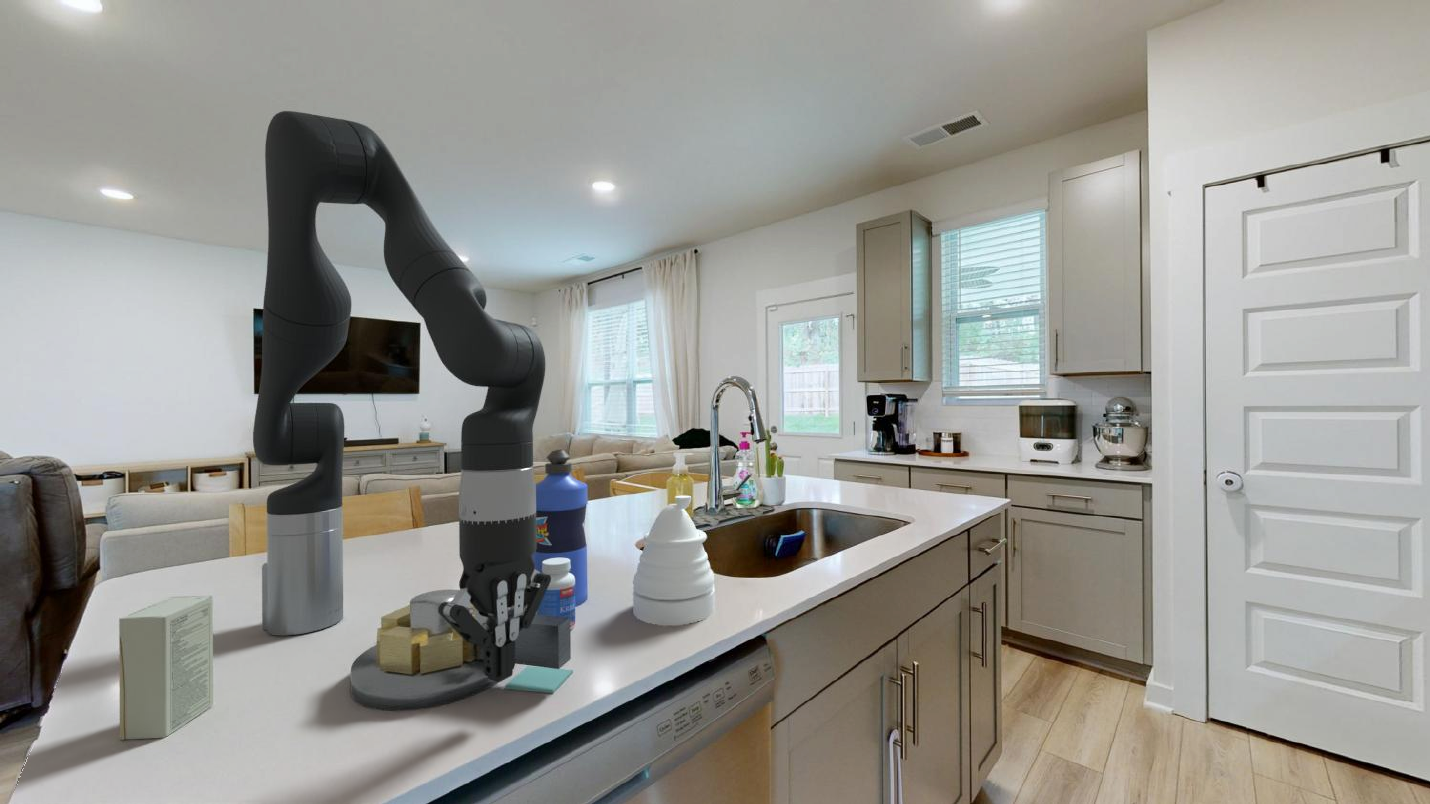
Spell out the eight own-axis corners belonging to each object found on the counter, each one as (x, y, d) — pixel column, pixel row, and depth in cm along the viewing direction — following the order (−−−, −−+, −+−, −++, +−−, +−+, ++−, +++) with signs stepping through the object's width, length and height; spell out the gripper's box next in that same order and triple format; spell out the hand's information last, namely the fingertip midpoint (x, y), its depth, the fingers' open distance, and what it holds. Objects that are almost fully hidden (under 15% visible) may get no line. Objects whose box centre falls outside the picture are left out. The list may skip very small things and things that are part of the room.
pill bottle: (565, 637, 79) (564, 567, 79) (529, 634, 80) (529, 565, 80) (581, 622, 84) (581, 556, 85) (548, 619, 86) (548, 555, 86)
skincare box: (172, 708, 61) (171, 596, 61) (216, 706, 62) (215, 594, 62) (116, 742, 55) (115, 617, 55) (165, 739, 55) (164, 615, 56)
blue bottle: (546, 615, 87) (544, 453, 88) (520, 600, 94) (519, 450, 95) (599, 600, 94) (597, 449, 94) (571, 587, 101) (570, 447, 101)
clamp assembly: (350, 665, 65) (350, 623, 65) (433, 623, 77) (433, 588, 77) (532, 691, 58) (531, 644, 58) (591, 641, 71) (591, 602, 71)
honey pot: (730, 604, 91) (728, 493, 91) (683, 632, 80) (682, 505, 80) (666, 591, 98) (665, 487, 98) (616, 615, 87) (614, 498, 87)
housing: (310, 702, 62) (310, 620, 62) (425, 636, 80) (424, 572, 80) (456, 718, 59) (455, 631, 59) (542, 645, 76) (541, 578, 76)
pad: (504, 688, 65) (504, 686, 65) (527, 668, 70) (527, 666, 70) (553, 693, 63) (553, 690, 63) (572, 672, 68) (572, 670, 68)
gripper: (467, 526, 51) (469, 718, 51) (570, 503, 63) (571, 659, 63) (416, 519, 55) (417, 698, 55) (522, 499, 67) (523, 646, 66)
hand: (500, 677), depth 59 cm, fingers closed
